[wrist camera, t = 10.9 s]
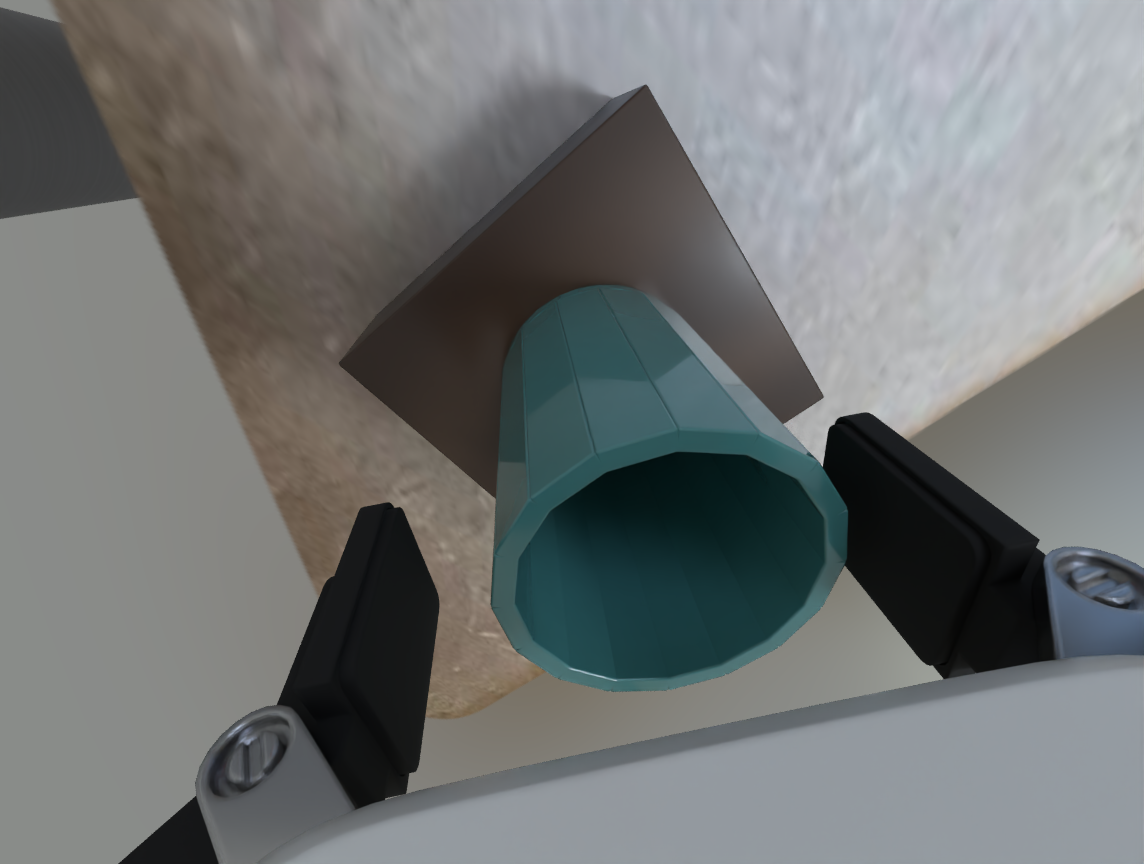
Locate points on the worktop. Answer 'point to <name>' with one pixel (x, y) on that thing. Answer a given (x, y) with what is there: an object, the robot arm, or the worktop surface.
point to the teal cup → (649, 502)
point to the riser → (574, 283)
